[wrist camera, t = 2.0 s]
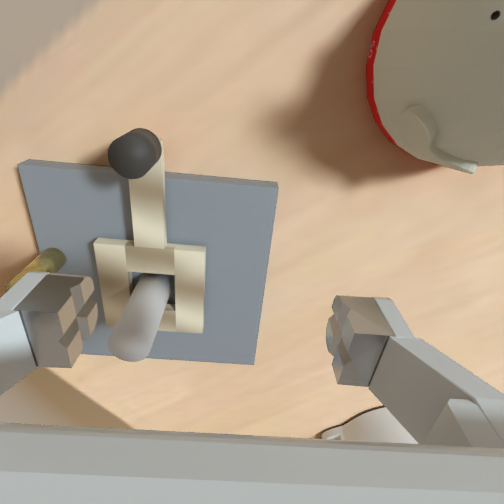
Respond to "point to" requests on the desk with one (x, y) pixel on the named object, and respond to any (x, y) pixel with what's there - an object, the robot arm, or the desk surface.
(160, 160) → the knobbed lever handle
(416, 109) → the kitchen timer
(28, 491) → the robot arm
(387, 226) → the desk surface
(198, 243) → the board
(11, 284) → the gold rounded cylinder
